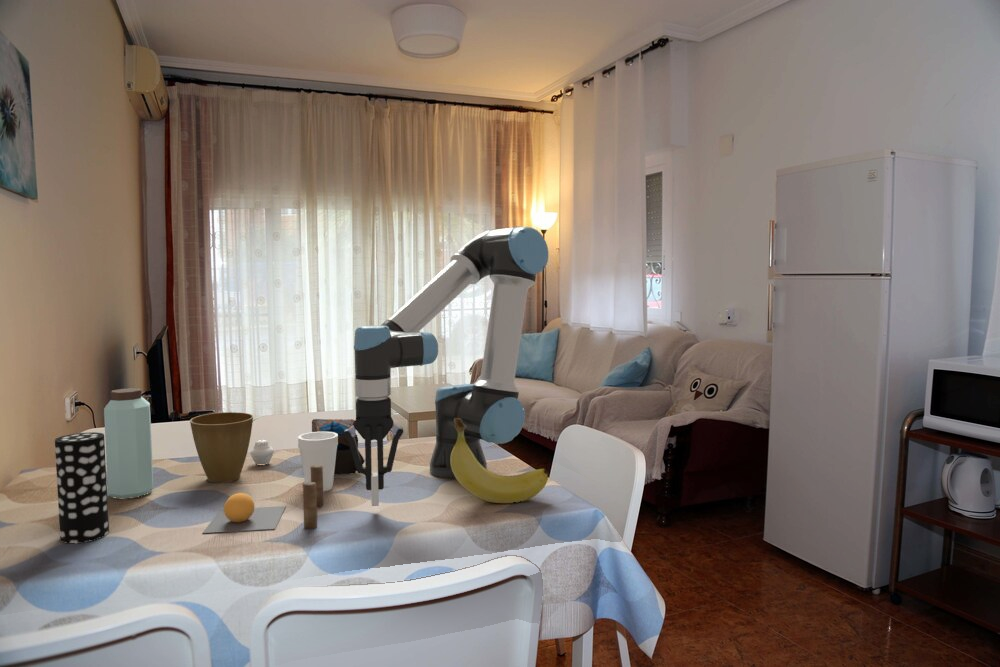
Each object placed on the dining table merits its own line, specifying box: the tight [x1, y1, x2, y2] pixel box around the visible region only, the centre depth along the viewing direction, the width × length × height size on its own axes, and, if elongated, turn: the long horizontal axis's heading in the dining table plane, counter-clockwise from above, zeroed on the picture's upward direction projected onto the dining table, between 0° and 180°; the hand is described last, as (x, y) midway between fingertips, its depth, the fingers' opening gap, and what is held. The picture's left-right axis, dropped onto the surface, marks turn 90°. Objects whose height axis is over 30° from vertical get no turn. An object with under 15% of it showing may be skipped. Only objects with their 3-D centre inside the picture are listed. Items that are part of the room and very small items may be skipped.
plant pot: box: [189, 411, 254, 483], centre depth 172 cm, size 15×15×16 cm
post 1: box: [302, 482, 318, 530], centre depth 138 cm, size 3×3×9 cm
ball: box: [223, 492, 255, 523], centre depth 141 cm, size 6×6×6 cm
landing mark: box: [202, 505, 287, 535], centre depth 143 cm, size 14×14×1 cm
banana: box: [450, 418, 550, 504], centre depth 153 cm, size 23×6×20 cm, turn 100°
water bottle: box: [103, 387, 154, 499], centre depth 160 cm, size 10×10×25 cm
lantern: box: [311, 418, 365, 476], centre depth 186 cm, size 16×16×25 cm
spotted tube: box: [54, 431, 110, 544], centre depth 133 cm, size 8×8×20 cm
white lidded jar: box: [249, 439, 275, 465], centre depth 186 cm, size 6×6×7 cm
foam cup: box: [297, 431, 338, 492], centre depth 164 cm, size 10×9×13 cm
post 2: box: [311, 465, 325, 508], centre depth 151 cm, size 3×3×9 cm
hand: (375, 503), depth 147 cm, fingers closed
